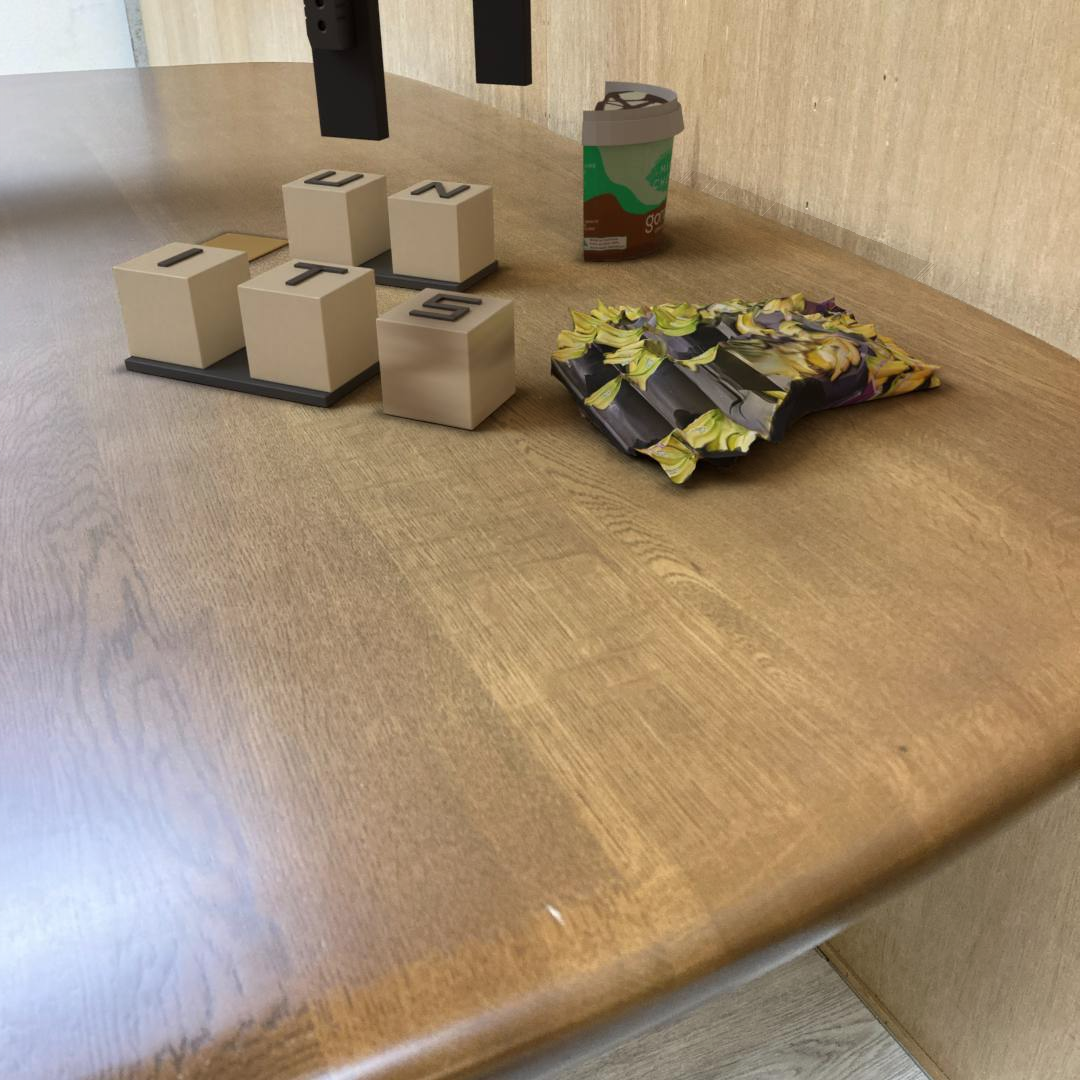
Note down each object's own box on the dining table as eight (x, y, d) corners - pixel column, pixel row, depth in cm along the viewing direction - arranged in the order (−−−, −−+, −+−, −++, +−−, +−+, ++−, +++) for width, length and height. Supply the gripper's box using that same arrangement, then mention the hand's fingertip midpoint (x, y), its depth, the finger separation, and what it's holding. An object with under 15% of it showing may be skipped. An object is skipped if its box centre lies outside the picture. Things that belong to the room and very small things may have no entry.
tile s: (383, 414, 57) (374, 315, 54) (431, 378, 61) (425, 284, 58) (472, 430, 55) (468, 329, 53) (516, 392, 59) (514, 296, 56)
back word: (177, 255, 80) (162, 171, 77) (230, 233, 85) (218, 153, 82) (457, 295, 72) (453, 203, 69) (498, 268, 77) (496, 181, 74)
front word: (125, 369, 62) (104, 266, 59) (196, 333, 67) (179, 236, 64) (327, 408, 58) (314, 298, 55) (387, 366, 62) (379, 262, 59)
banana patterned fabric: (816, 327, 69) (861, 230, 65) (973, 508, 59) (1039, 406, 54) (512, 324, 61) (541, 213, 57) (631, 534, 51) (677, 416, 46)
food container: (671, 271, 76) (679, 114, 71) (580, 267, 77) (581, 112, 72) (684, 221, 87) (691, 81, 81) (603, 218, 87) (606, 79, 82)
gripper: (277, -689, 29) (359, 175, 39) (625, -468, 48) (616, 70, 59) (51, -636, 31) (186, 159, 42) (467, -447, 51) (487, 63, 62)
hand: (437, 108), depth 51 cm, fingers open, 13 cm apart
